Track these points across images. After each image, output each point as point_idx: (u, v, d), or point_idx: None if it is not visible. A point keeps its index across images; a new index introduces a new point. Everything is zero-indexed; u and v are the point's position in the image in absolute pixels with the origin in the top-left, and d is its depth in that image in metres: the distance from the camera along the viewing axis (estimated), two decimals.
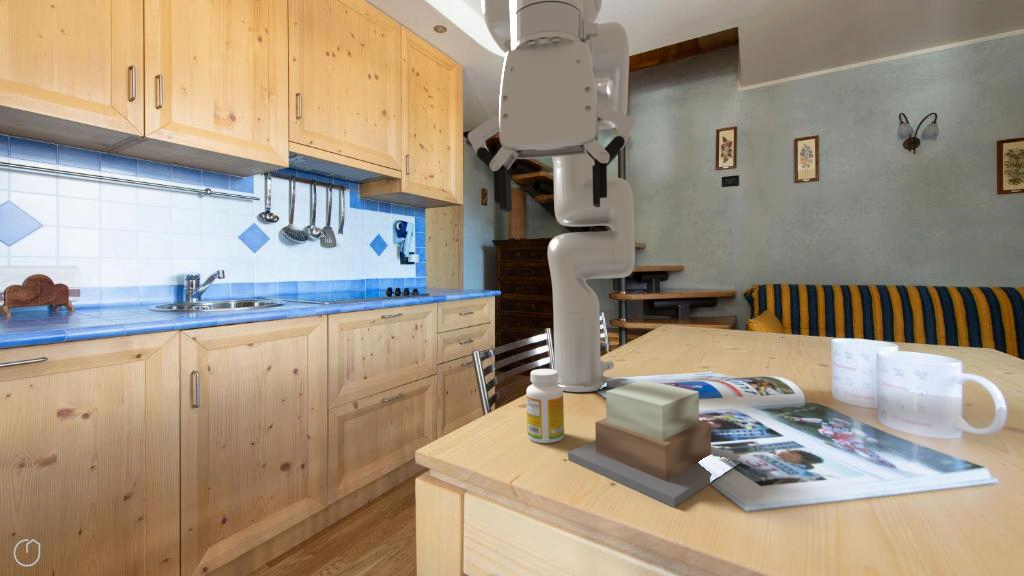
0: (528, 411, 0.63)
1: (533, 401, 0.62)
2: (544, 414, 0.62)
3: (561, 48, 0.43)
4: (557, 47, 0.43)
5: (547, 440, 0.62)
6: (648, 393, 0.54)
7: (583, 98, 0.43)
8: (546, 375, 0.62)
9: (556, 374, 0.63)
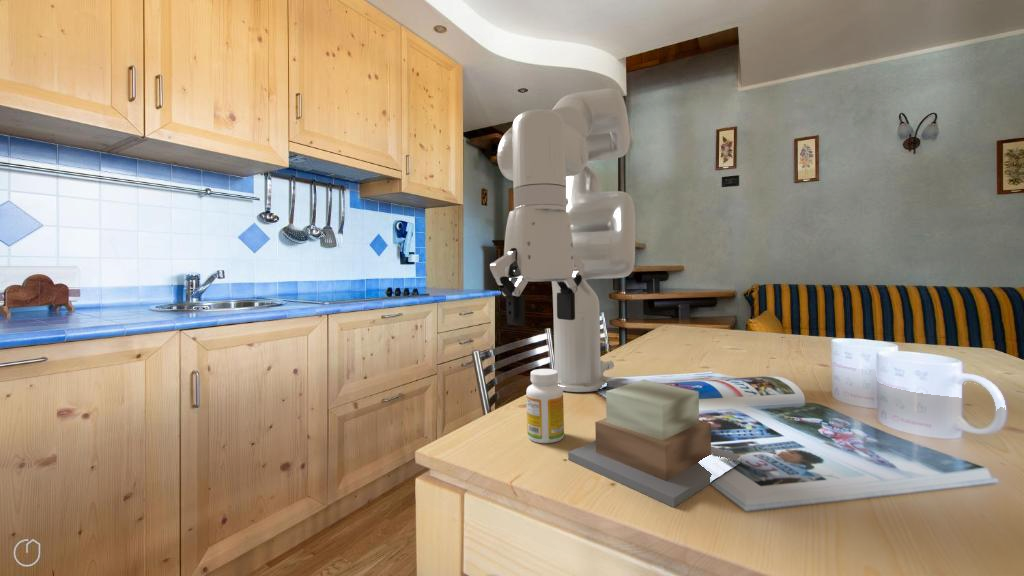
0: (528, 411, 0.63)
1: (533, 401, 0.62)
2: (544, 414, 0.62)
3: (560, 215, 0.62)
4: (558, 214, 0.62)
5: (547, 440, 0.62)
6: (648, 393, 0.54)
7: (570, 250, 0.63)
8: (546, 375, 0.62)
9: (556, 374, 0.63)
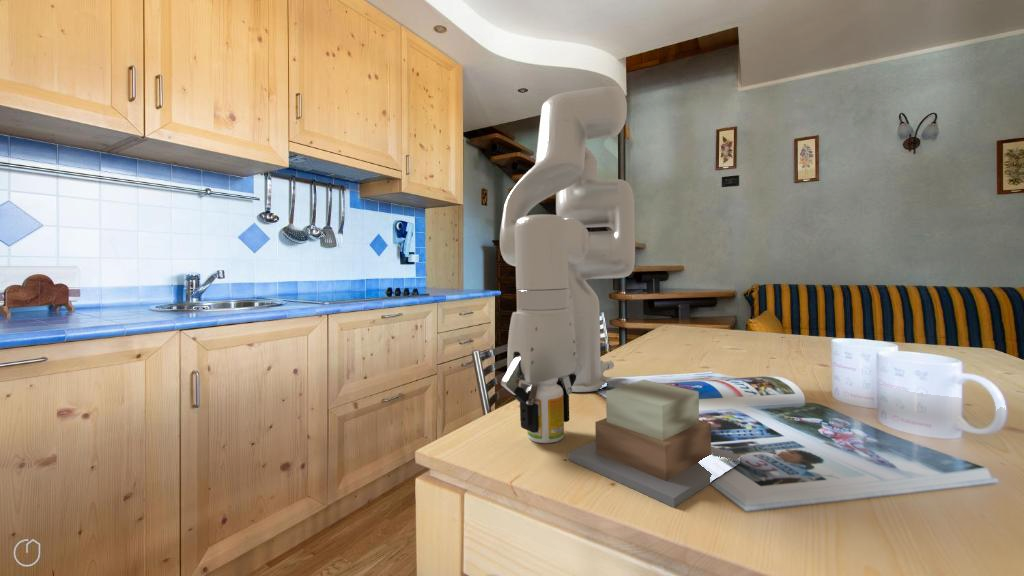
0: None
1: None
2: (544, 413, 0.62)
3: (563, 315, 0.63)
4: (561, 315, 0.62)
5: (547, 440, 0.62)
6: (648, 393, 0.54)
7: (572, 347, 0.64)
8: None
9: None
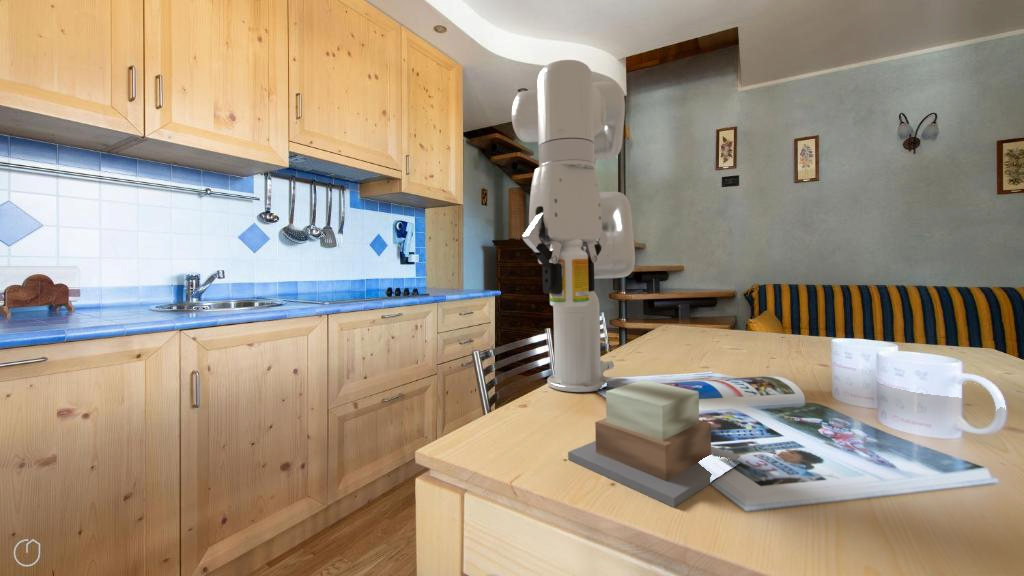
0: None
1: (557, 262, 0.59)
2: (568, 274, 0.58)
3: (588, 173, 0.59)
4: (586, 171, 0.59)
5: (571, 303, 0.58)
6: (648, 393, 0.54)
7: (598, 210, 0.61)
8: None
9: None
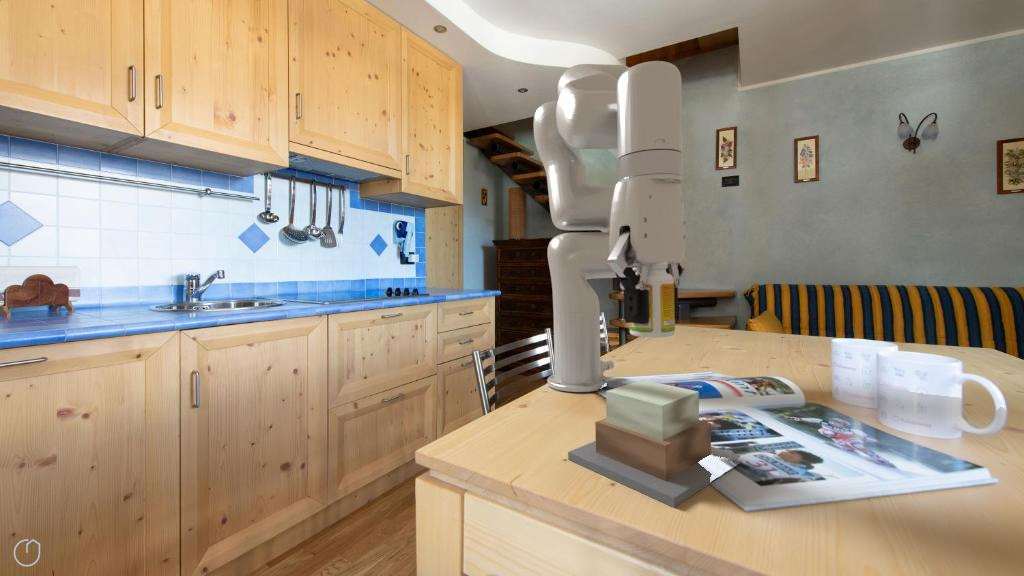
0: None
1: None
2: (656, 301, 0.52)
3: (675, 187, 0.53)
4: (673, 186, 0.53)
5: (659, 333, 0.52)
6: (648, 393, 0.54)
7: (683, 229, 0.55)
8: None
9: None
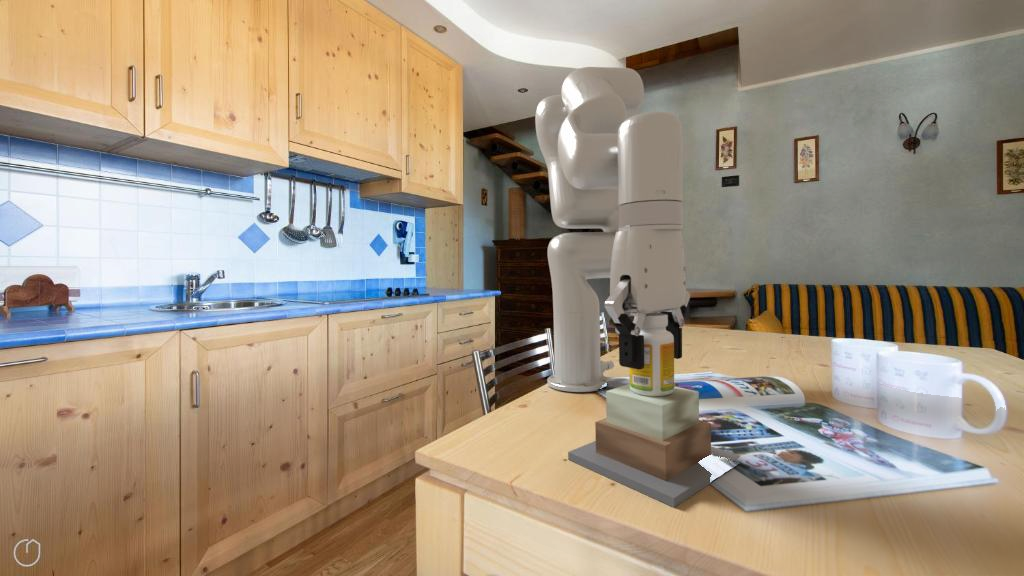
0: None
1: None
2: (656, 361, 0.52)
3: (675, 235, 0.53)
4: (674, 234, 0.53)
5: (659, 393, 0.53)
6: None
7: (683, 275, 0.55)
8: (657, 316, 0.53)
9: (667, 316, 0.54)
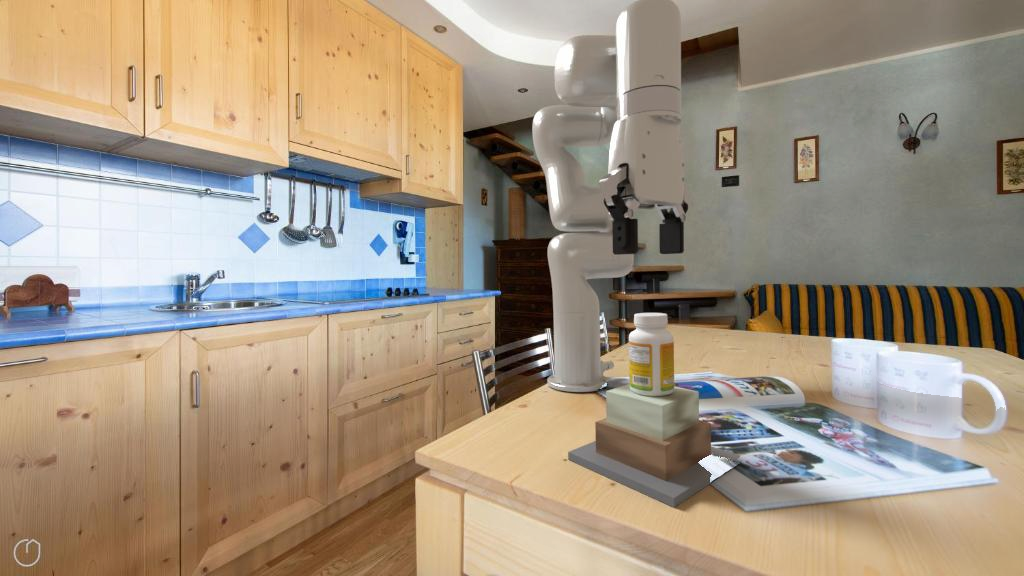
0: (633, 360, 0.54)
1: (642, 347, 0.53)
2: (656, 361, 0.52)
3: (674, 127, 0.53)
4: (672, 125, 0.53)
5: (658, 392, 0.53)
6: None
7: (681, 171, 0.55)
8: (657, 316, 0.53)
9: (666, 316, 0.54)
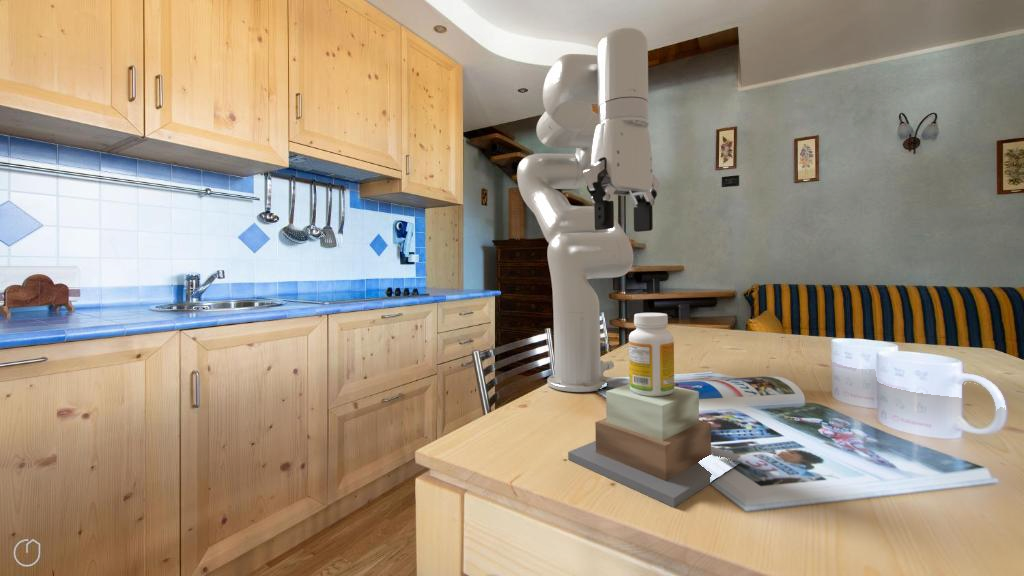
0: (633, 360, 0.54)
1: (642, 347, 0.53)
2: (656, 361, 0.52)
3: (643, 129, 0.67)
4: (641, 128, 0.67)
5: (658, 392, 0.53)
6: None
7: (650, 164, 0.69)
8: (657, 316, 0.53)
9: (667, 316, 0.54)
